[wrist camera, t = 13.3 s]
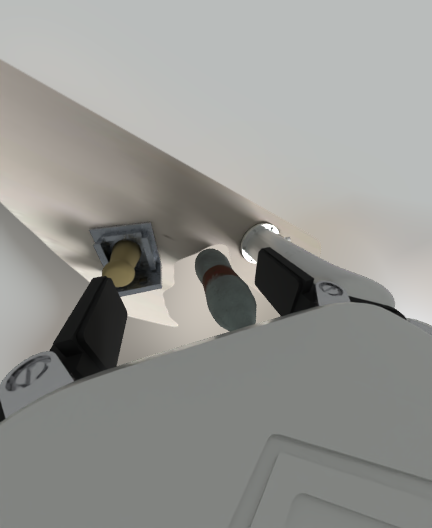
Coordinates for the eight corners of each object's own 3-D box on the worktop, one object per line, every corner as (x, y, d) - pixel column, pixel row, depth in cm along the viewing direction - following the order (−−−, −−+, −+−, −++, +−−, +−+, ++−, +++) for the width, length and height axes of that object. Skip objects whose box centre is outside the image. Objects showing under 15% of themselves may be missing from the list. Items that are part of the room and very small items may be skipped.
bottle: (218, 241, 44) (295, 333, 19) (227, 266, 49) (296, 364, 24) (187, 255, 43) (225, 369, 18) (199, 278, 48) (241, 393, 24)
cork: (106, 243, 35) (88, 270, 26) (135, 236, 36) (126, 259, 27) (120, 266, 38) (107, 296, 29) (145, 259, 39) (141, 286, 30)
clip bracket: (150, 221, 36) (148, 237, 28) (161, 266, 42) (162, 289, 34) (90, 228, 33) (68, 248, 25) (112, 275, 40) (99, 302, 31)
